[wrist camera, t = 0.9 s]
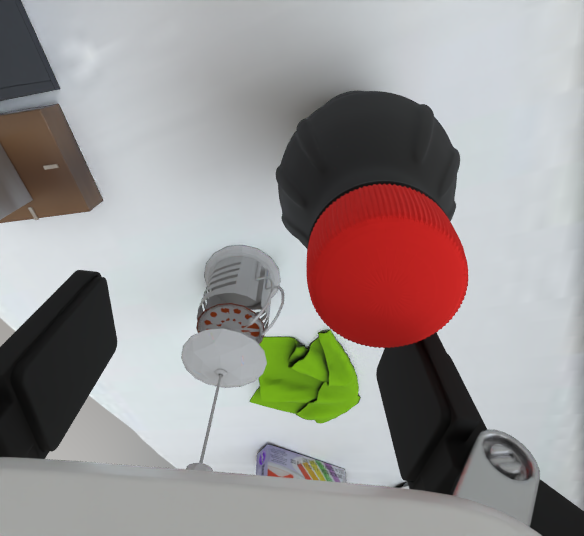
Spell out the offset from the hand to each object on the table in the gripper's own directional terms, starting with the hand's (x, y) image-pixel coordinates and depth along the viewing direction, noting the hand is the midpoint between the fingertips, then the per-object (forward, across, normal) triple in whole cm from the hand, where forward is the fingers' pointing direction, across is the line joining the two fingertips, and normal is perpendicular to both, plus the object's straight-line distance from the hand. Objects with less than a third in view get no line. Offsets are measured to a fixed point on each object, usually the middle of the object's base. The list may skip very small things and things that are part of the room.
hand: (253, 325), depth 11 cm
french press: (+29, +2, +17) cm, 33 cm away
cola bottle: (+28, -7, -1) cm, 29 cm away
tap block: (+28, +26, +6) cm, 39 cm away
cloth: (+29, -8, +35) cm, 46 cm away
